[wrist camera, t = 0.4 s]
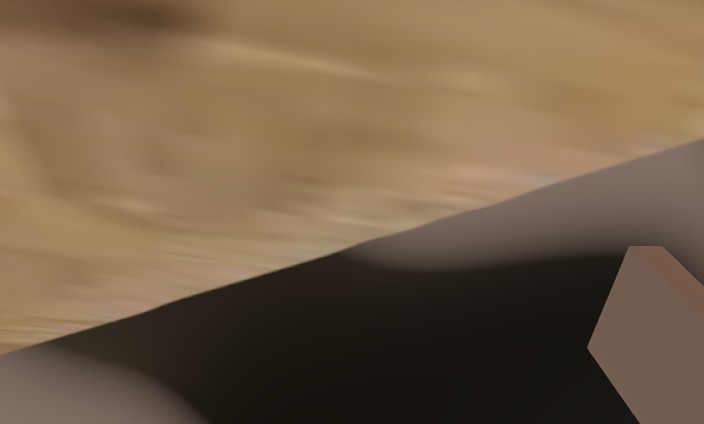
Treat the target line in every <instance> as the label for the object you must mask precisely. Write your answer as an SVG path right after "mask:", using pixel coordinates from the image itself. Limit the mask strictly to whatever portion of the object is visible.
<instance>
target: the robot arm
mask: <svg viewBox="0 0 704 424" xmlns="http://www.w3.org/2000/svg"><path fill="white" fill-rule="evenodd" d="M588 349H589V351H590V352H591V354H592V355H593V356H594V358H595V359H596V361H597V362H598V364H599V365H600V366H601V368H602V369H603V371H604V372H605V374H606V375H607V376H608V378H609V379H610V381H611V382H612V384H613V385H614V386H615V388H616V389H617V391H618V392H619V394H620V395H621V397H622V398H623V399H624V401H625V402H626V404H627V405H628V407H629V408H630V410H631V411H632V412H633V414H634V415H635V417H636V418H637V420H638V421H639V422H640V424H704V287H703V286H702V285H701V284H700V283H699V282H698V281H697V280H696V279H695V278H694V277H693V276H692V275H691V274H690V273H689V272H688V271H687V270H686V269H685V268H684V267H683V266H682V265H681V264H680V263H679V262H678V261H677V260H675V259H674V258H673V257H672V256H671V255H670V254H669V253H668V252H667V251H666V250H665V249H664V248H663V247H649V246H630V247H629V248H628V251H627V253H626V256H625V258H624V261H623V263H622V265H621V268H620V270H619V273H618V275H617V277H616V280H615V282H614V285H613V287H612V290H611V292H610V294H609V297H608V299H607V302H606V304H605V307H604V309H603V311H602V314H601V316H600V318H599V321H598V323H597V326H596V328H595V331H594V333H593V335H592V338H591V340H590V343H589V345H588Z"/></svg>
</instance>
